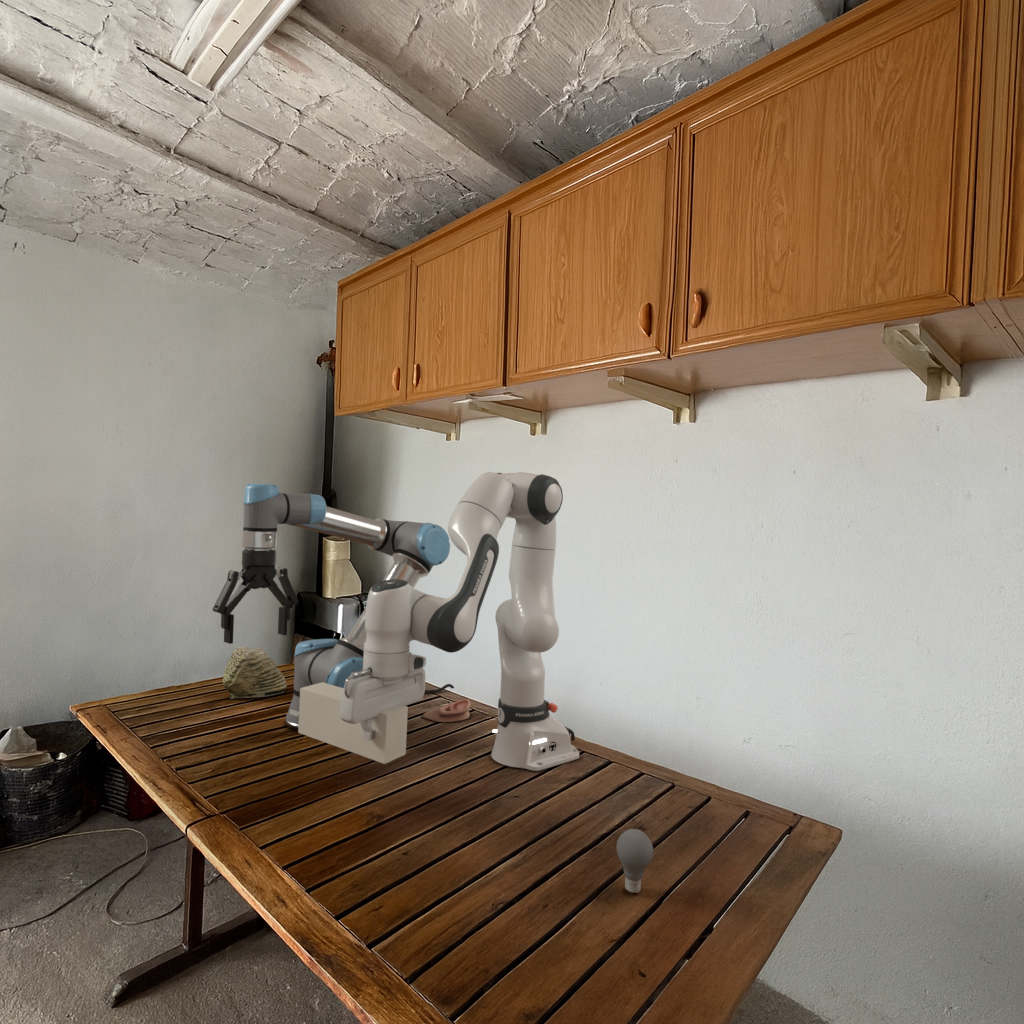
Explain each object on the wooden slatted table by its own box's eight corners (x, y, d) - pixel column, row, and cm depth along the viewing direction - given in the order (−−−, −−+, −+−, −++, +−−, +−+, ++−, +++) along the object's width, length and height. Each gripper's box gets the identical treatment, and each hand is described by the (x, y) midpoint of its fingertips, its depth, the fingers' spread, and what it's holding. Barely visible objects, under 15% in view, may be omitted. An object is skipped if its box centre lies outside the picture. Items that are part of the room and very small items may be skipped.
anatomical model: (419, 705, 182) (432, 694, 193) (418, 719, 182) (431, 707, 193) (463, 711, 179) (474, 698, 190) (463, 725, 179) (473, 712, 190)
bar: (298, 732, 133) (300, 688, 133) (320, 725, 138) (322, 682, 138) (384, 764, 120) (386, 714, 119) (405, 754, 125) (408, 706, 124)
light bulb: (610, 879, 108) (613, 822, 108) (644, 879, 109) (647, 822, 109) (619, 902, 102) (622, 840, 102) (655, 901, 103) (658, 840, 103)
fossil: (218, 695, 195) (220, 647, 195) (278, 685, 208) (279, 640, 207) (228, 703, 189) (230, 653, 188) (289, 692, 201) (290, 645, 201)
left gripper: (215, 552, 138) (211, 649, 138) (314, 548, 157) (311, 633, 157) (198, 549, 142) (195, 643, 143) (297, 546, 162) (294, 628, 162)
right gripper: (358, 677, 113) (354, 754, 114) (431, 656, 131) (428, 723, 131) (333, 671, 117) (330, 745, 117) (408, 651, 134) (405, 716, 134)
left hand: (256, 638), depth 150 cm, fingers open, 13 cm apart
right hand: (382, 733), depth 124 cm, fingers closed on bar, 6 cm apart
